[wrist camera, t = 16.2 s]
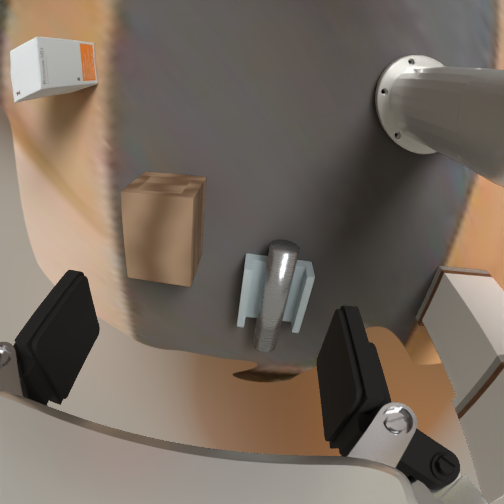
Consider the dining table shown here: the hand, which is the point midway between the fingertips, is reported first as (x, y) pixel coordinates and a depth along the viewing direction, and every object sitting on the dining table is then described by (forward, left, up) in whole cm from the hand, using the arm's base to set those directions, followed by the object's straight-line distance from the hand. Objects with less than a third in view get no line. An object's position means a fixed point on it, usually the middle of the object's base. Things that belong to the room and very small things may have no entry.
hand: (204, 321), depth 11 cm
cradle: (-6, +19, -28) cm, 34 cm away
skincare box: (+22, -10, -28) cm, 37 cm away
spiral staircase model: (-37, +17, -28) cm, 49 cm away
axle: (-6, +19, -27) cm, 33 cm away
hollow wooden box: (+9, +9, -28) cm, 31 cm away
